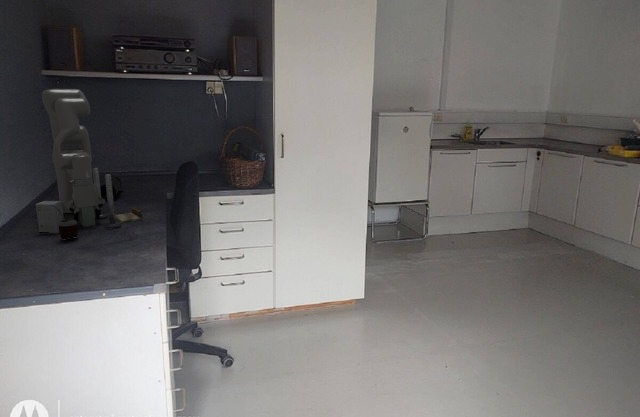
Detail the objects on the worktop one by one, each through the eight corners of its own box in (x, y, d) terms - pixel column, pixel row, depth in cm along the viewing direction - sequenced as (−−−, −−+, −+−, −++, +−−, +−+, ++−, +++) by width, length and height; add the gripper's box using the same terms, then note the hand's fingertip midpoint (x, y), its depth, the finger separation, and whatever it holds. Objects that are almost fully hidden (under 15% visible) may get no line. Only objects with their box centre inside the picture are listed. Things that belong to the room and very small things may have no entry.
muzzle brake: (98, 202, 263) (97, 183, 260) (106, 191, 289) (104, 174, 286) (117, 201, 265) (115, 182, 263) (123, 190, 291) (121, 173, 289)
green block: (83, 226, 217) (81, 207, 215) (80, 224, 221) (78, 205, 219) (95, 225, 220) (93, 206, 218) (92, 222, 224) (90, 203, 222)
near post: (106, 229, 213) (101, 176, 207) (102, 226, 218) (97, 174, 213) (123, 227, 217) (118, 175, 212) (118, 223, 223) (113, 172, 217)
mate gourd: (81, 239, 200) (77, 204, 196) (61, 243, 195) (56, 207, 191) (75, 235, 205) (71, 201, 201) (55, 239, 200) (50, 204, 196)
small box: (65, 229, 213) (61, 200, 210) (57, 233, 207) (54, 204, 204) (47, 229, 213) (43, 200, 210) (38, 233, 207) (34, 204, 204)
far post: (94, 220, 228) (89, 170, 222) (90, 216, 234) (85, 167, 228) (110, 217, 233) (105, 168, 227) (105, 214, 238) (101, 166, 232)
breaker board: (121, 223, 224) (120, 215, 223) (113, 217, 233) (112, 209, 232) (142, 219, 230) (142, 211, 229) (134, 214, 239) (133, 206, 238)
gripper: (63, 185, 208) (68, 224, 212) (106, 181, 218) (109, 218, 223) (60, 182, 213) (64, 220, 218) (101, 178, 224) (105, 214, 228)
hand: (87, 219), depth 220 cm, fingers open, 8 cm apart
